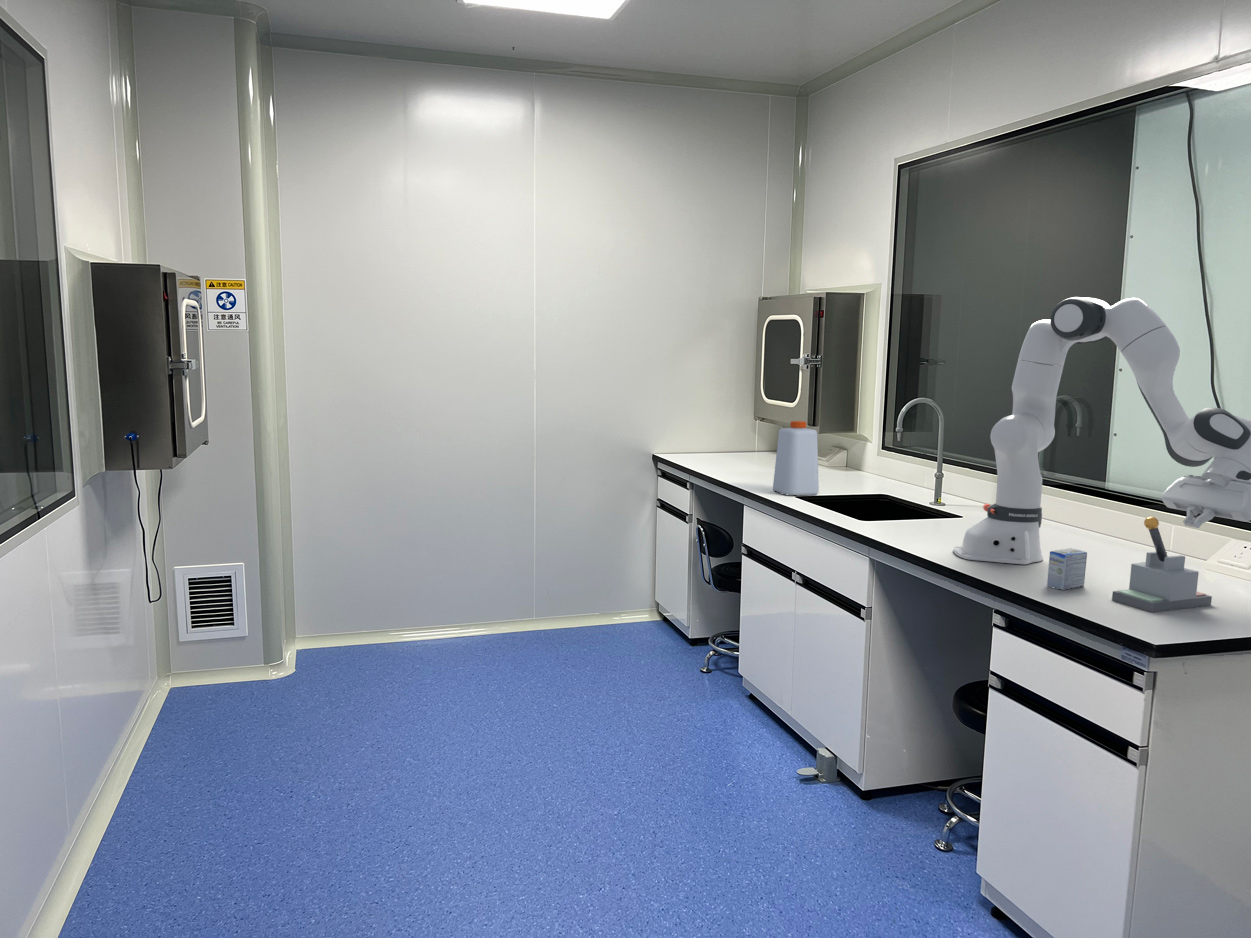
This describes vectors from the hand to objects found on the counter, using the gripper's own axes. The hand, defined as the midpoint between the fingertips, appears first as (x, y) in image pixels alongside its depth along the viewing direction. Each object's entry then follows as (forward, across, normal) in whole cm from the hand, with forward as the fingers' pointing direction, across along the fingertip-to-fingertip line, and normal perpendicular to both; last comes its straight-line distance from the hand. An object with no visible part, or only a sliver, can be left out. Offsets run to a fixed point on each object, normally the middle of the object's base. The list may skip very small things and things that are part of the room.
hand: (1190, 525), depth 197 cm
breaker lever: (+10, 0, +1) cm, 11 cm away
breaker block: (+17, 0, +8) cm, 18 cm away
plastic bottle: (+16, -157, +8) cm, 158 cm away
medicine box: (+24, -17, +1) cm, 30 cm away
